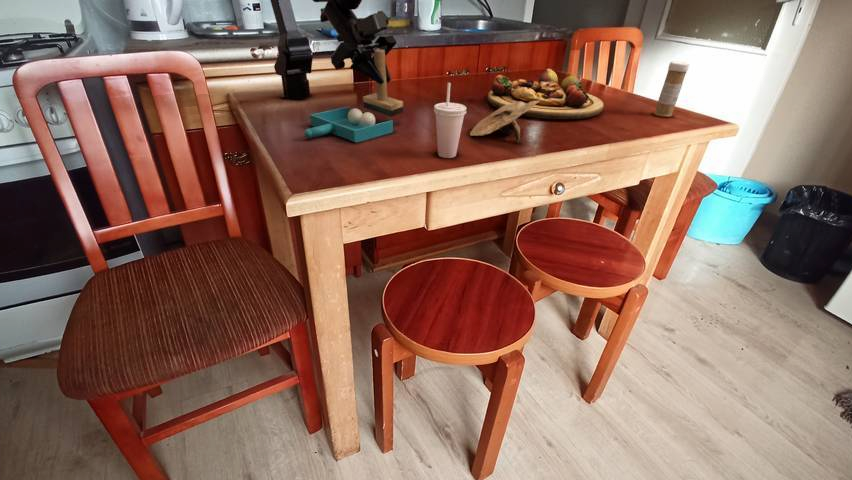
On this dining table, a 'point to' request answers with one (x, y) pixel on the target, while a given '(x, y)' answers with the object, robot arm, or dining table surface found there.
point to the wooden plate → (546, 96)
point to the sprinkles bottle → (671, 88)
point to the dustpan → (345, 126)
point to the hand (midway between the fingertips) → (385, 82)
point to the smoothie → (448, 126)
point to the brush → (382, 91)
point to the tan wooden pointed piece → (503, 119)
